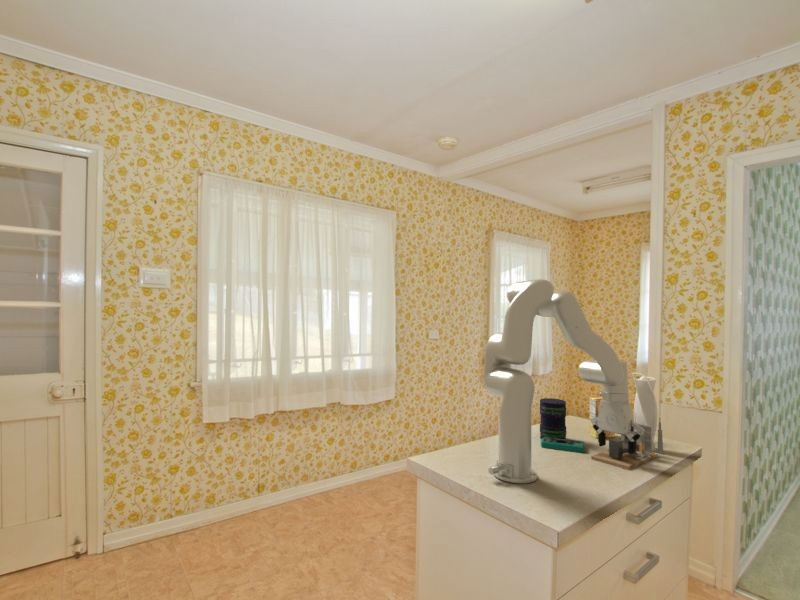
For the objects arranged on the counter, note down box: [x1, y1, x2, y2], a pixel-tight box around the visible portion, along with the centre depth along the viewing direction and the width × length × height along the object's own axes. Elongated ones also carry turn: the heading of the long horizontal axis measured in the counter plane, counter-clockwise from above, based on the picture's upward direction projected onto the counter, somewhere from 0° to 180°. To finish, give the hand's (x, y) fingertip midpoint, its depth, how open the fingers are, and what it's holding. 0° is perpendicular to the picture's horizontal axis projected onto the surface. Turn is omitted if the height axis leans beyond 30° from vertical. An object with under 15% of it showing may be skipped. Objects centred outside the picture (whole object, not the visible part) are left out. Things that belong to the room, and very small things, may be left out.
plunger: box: [608, 437, 637, 459], centre depth 139 cm, size 13×6×6 cm, turn 126°
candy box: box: [589, 396, 616, 439], centre depth 167 cm, size 9×4×15 cm, turn 103°
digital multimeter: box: [540, 437, 585, 454], centre depth 152 cm, size 7×15×3 cm, turn 64°
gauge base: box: [590, 424, 659, 471], centre depth 141 cm, size 21×12×10 cm, turn 126°
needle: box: [637, 443, 643, 456], centre depth 137 cm, size 1×2×4 cm
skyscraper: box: [631, 372, 665, 455], centre depth 151 cm, size 8×8×28 cm
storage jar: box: [539, 397, 567, 440], centre depth 163 cm, size 10×10×15 cm
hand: (616, 449), depth 138 cm, fingers open, 9 cm apart
